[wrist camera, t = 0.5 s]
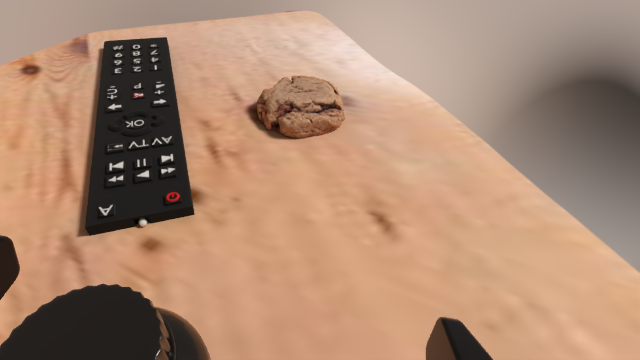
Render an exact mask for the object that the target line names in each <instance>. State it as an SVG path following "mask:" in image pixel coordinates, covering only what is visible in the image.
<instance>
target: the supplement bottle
mask: <svg viewBox="0 0 640 360" xmlns="http://www.w3.org/2000/svg"><path fill="white" fill-rule="evenodd" d="M0 360H211V358H210V356H209V353H208V350H207V348H206V346H205V344H204V342H203V340H202V338H201V336H200V335H199V333H198V332H197V330H196V329H195V328H194V327H193V326H192V325H191V324H190V323H189V322H188V321H187V320H185V319H184V318H182V317H181V316H179V315H178V314H176V313H174V312H172V311H169V310H166V309H163V308H159V307H154V305H153V303H152V301H150V300H149V299H147V298H144V296H143V294H142V293H141V292H136V291H133V290H132V289H131V288H130V287H121V286H119V285H117V284H115V285H110V286H109V285H106V284H101V285H97V286H86V287H84V288H82V289H78V290H77V289H76V290H72V291H70V292H68V293H67V294H65V295H61V296H57V297H56V298H55V299H53V300H52V301H51V302H49V303H47V304H44V305H42V306H41V307H40V308H39V309H38V310H37V311H36V312H34V313H32V314H31V315H29V316H27V317H26V318H25V320H24V321H23V322H22V324H21V325H19V326H18V327H16V328H15V329H14V330H13V331H12V332H11V334H10V336H9V338H8V339H7V340H6V341H4V342H3V343H2V344H1V346H0Z"/></svg>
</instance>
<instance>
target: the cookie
mask: <svg viewBox="0 0 640 360" xmlns="http://www.w3.org/2000/svg"><path fill="white" fill-rule="evenodd" d="M342 107H343V105H342V101H341V98H340V95H339V92H338V90H337V88H336V87H335V86H334V85H333V84H332V83H330V82H328V81H326V80H322V79H318V78H316V77H308V76H293V77H292V81H291V80H289V79H288V78H287V77H286V78H285V77H284V78H282V79H281V80H280V81H278V83H277V84H276V85H275V86H274V87H273V88H271V89H265V90H263V92H262V94H261V95H260V97H259V99H258V101H257V112H258V116H259V119H260V120H261V121H263V123H265V125H264V126H266V128H267V129H268V130H274V131H276V130H277V131H278V133H279V132H280V133H281V134H282V135H285V136H289V137H291V138H306V137H312V136H319V135H323V134H326V133H329V132H332V131H335V130H336V129H337V128H339V127H340V125H341V122H342V121H343V120H344V119H345V115H344V114H343V113H344V112H343V111H344V110H342ZM263 123H262V124H263Z"/></svg>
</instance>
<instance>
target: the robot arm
mask: <svg viewBox="0 0 640 360" xmlns="http://www.w3.org/2000/svg"><path fill="white" fill-rule="evenodd" d="M19 271H20V266H19V262H18V258H17V255H16V251H15V248H14V244H13V242H12V240H11V239H10V238H8V237H6V236H1V235H0V300H1V298H2V297H3V296H4V294H5V293H6V292H7V290H8V289H9V288H10V286H11V285H12V284H13V283H14V281H15V280H16V278H17V276H18V274H19ZM426 360H493V359H492V358H491V356H490V355H489V354H488V353H487V352H486V350H485V349H484V348H483V347H482V346H481V344H480V343H479V342H478V341H477V340H476V338H475V337H474V336H473V335H472V334H471V333H470V331H469V330H468V329H467V328H466V327H465V325H464V324H463V323H462V322H461V321H459V320H457V319H452V318H446V317H440V318H439V319H438V320H437V321H436V324H435V326H434V328H433V330H432V333H431V335H430V337H429V340H428V342H427V346H426Z"/></svg>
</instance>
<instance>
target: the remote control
mask: <svg viewBox="0 0 640 360" xmlns="http://www.w3.org/2000/svg"><path fill="white" fill-rule="evenodd" d="M190 215H194V208H193V202H192V195H191V189H190V182H189V176H188V170H187V163H186V157H185V150H184V144H183V137H182V131H181V124H180V118H179V111H178V105H177V98H176V92H175V85H174V79H173V72H172V66H171V59H170V53H169V46H168V41H167V38H166V37H163V38H147V39H132V40H116V41H105V42H104V50H103V60H102V70H101V80H100V89H99V99H98V109H97V119H96V128H95V138H94V148H93V158H92V167H91V177H90V187H89V197H88V206H87V216H86V226H85V228H86V230H87V232H88V233H89V235H90V236H91V235H96V234H101V233H106V232H111V231H116V230H121V229H126V228H131V227H135V226H136V224H138V223H139V225H140V226H141V227H144V226H146V224H147V222H148V221H150V222H151V223H155V222H160V221H165V220H170V219H175V218H180V217H185V216H190Z"/></svg>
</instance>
